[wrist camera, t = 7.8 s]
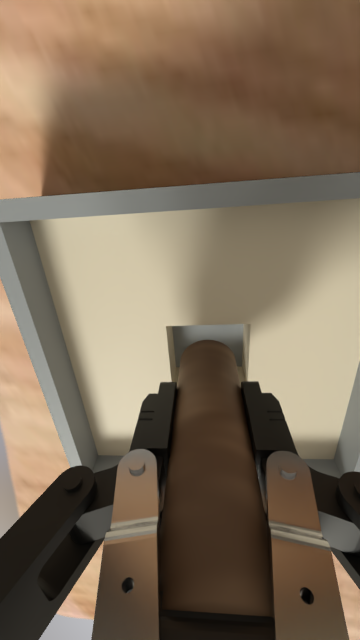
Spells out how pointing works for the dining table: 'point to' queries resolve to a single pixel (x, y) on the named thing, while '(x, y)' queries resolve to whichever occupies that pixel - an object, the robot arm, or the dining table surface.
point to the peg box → (191, 303)
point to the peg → (213, 495)
